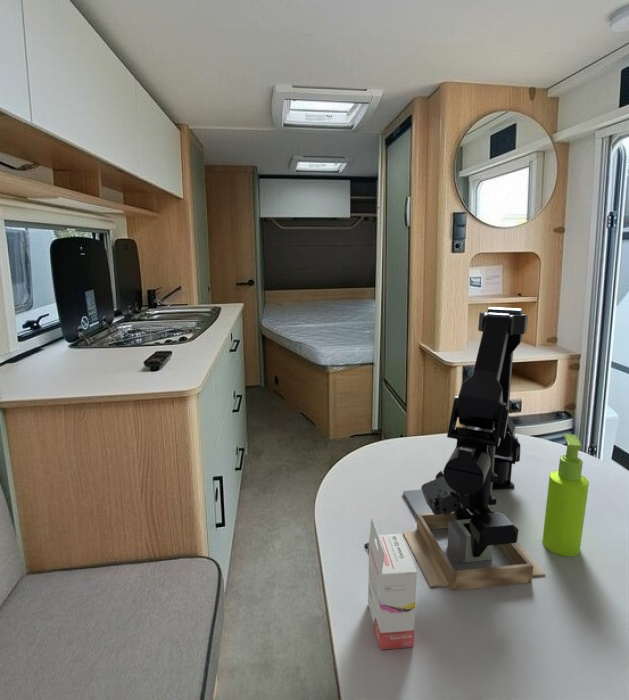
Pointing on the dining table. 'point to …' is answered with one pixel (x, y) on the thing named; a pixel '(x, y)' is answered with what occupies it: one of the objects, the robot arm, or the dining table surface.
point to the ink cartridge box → (391, 590)
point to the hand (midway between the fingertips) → (469, 547)
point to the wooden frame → (444, 574)
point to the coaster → (417, 502)
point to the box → (464, 543)
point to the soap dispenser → (566, 503)
